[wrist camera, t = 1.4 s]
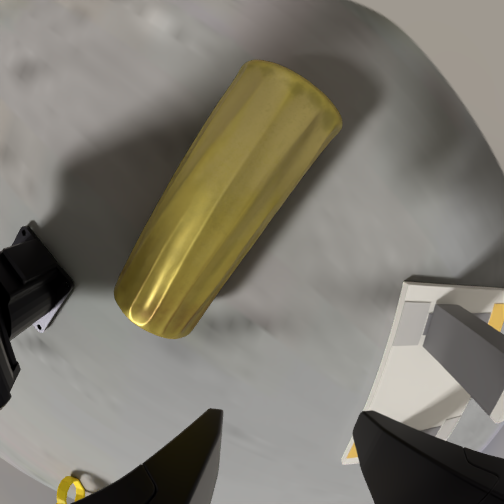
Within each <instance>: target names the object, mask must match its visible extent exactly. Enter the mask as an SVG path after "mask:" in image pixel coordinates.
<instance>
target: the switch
mask: <svg viewBox="0 0 504 504" xmlns="http://www.w3.org/2000/svg"><path fill="white" fill-rule="evenodd" d="M423 347H424V348H425V349H426V350H427V351H428V352H429V353H430V354H431V355H432V356H433V357H434V358H435V359H436V360H437V361H438V362H439V363H440V364H441V365H442V366H443V367H444V369H445V370H446V371H447V372H448V373H449V374H450V375H451V376H452V377H453V378H454V379H455V380H456V381H457V382H458V383H459V384H460V385H461V386H462V387H463V388H464V389H465V390H466V392H467V393H468V394H469V395H470V396H471V397H472V398H473V399H474V400H475V401H476V402H477V403H478V404H479V406H480V407H481V408H482V409H483V410H484V411H485V412H486V413H487V414H488V415H489V417H490V418H491V419H492V420H493V421H494V422H495V423H496V424H498V423H500V422H502V421H504V335H503V334H502V333H501V332H499V331H498V330H496V329H495V328H493V327H492V326H490V325H489V324H487V323H486V322H484V321H483V320H481V319H480V318H478V317H477V316H475V315H474V314H472V313H470V312H469V311H467V310H466V309H464V308H463V307H461V306H460V305H455V304H435V307H434V311H433V314H432V318H431V321H430V324H429V328H428V331H427V334H426V337H425V340H424V343H423Z"/></svg>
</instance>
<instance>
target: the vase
mask: <svg viewBox="0 0 504 504" xmlns="http://www.w3.org/2000/svg"><path fill="white" fill-rule="evenodd" d="M341 129H342V118H341V115H340V113H339V111H338V110H337V108H336V107H335V106H334V104H333V103H332V102H331V101H330V99H329V98H328V97H327V96H326V95H325V94H324V93H323V92H321V91H320V90H319V89H318V88H317V87H315V86H314V85H313V84H312V83H310V82H309V81H308V80H306V79H305V78H303V77H302V76H301V75H299V74H297V73H295V72H294V71H292V70H290V69H288V68H286V67H283V66H281V65H279V64H276V63H273V62H269V61H264V60H251V61H248V62H246V63H245V64H244V65H243V66H242V67H241V69H240V70H239V72H238V74H237V76H236V77H235V79H234V80H233V82H232V83H231V85H230V86H229V88H228V89H227V91H226V92H225V94H224V95H223V96H222V98H221V99H220V101H219V102H218V104H217V105H216V107H215V108H214V110H213V111H212V113H211V114H210V116H209V118H208V119H207V121H206V122H205V124H204V125H203V127H202V129H201V130H200V132H199V133H198V135H197V137H196V138H195V140H194V142H193V143H192V145H191V147H190V148H189V150H188V151H187V153H186V155H185V156H184V158H183V160H182V161H181V163H180V165H179V167H178V168H177V170H176V172H175V174H174V175H173V177H172V179H171V181H170V182H169V184H168V186H167V188H166V189H165V191H164V193H163V195H162V197H161V198H160V200H159V202H158V204H157V206H156V207H155V209H154V211H153V213H152V215H151V217H150V218H149V220H148V222H147V224H146V226H145V227H144V229H143V231H142V233H141V235H140V237H139V239H138V241H137V242H136V244H135V246H134V248H133V250H132V252H131V254H130V256H129V258H128V260H127V262H126V264H125V266H124V268H123V270H122V272H121V274H120V276H119V278H118V281H117V283H116V285H115V288H114V297H115V300H116V302H117V304H118V306H119V307H120V309H121V310H122V312H123V313H124V314H125V315H126V317H127V318H128V319H129V320H131V321H132V322H133V323H134V324H136V325H137V326H139V327H140V328H142V329H144V330H146V331H148V332H150V333H152V334H154V335H157V336H160V337H163V338H169V339H178V338H182V337H185V336H187V335H188V334H189V333H190V332H191V331H192V330H193V329H194V327H195V326H196V325H197V323H198V322H199V320H200V319H201V317H202V316H203V314H204V313H205V311H206V310H207V308H208V307H209V305H210V304H211V303H212V301H213V300H214V298H215V297H216V295H217V294H218V292H219V291H220V290H221V288H222V287H223V285H224V284H225V283H226V281H227V280H228V279H229V277H230V276H231V274H232V273H233V272H234V270H235V269H236V268H237V266H238V265H239V263H240V262H241V261H242V259H243V258H244V257H245V255H246V254H247V253H248V251H249V250H250V249H251V247H252V246H253V245H254V243H255V242H256V241H257V239H258V238H259V236H260V235H261V234H262V232H263V231H264V229H265V228H266V226H267V225H268V223H269V222H270V221H271V219H272V218H273V217H274V215H275V214H276V213H277V211H278V210H279V209H280V207H281V206H282V205H283V203H284V202H285V200H286V199H287V198H288V196H289V195H290V193H291V192H292V191H293V190H294V188H295V187H296V186H297V184H298V183H299V181H300V180H301V179H302V177H303V176H304V175H305V173H306V172H307V171H308V169H309V168H310V167H311V165H312V164H313V163H314V161H315V160H316V159H317V157H318V156H319V155H320V154H321V152H322V151H323V150H324V149H325V147H326V146H327V145H328V144H329V143H330V141H331V140H332V139H333V138H334V137H335V136H336V135H337V134H338V133H339V132H340V130H341Z"/></svg>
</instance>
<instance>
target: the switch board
mask: <svg viewBox="0 0 504 504" xmlns="http://www.w3.org/2000/svg"><path fill="white" fill-rule="evenodd" d="M435 304H455V305H460V306H461V307H463V308H464V309H466V310H467V311H469V312H470V313H472V314H474V315H475V316H477V317H478V318H480V319H481V320H483V321H484V322H486V323H487V324H489V325H490V326H492V327H493V328H495V329H496V330H498V331H499V332H500V331H501V328H502V325H503V322H504V288H494V287H478V286H463V285H448V284H434V283H420V282H406V281H403V286H402V290H401V294H400V298H399V302H398V306H397V310H396V314H395V318H394V321H393V325H392V328H391V332H390V335H389V339H388V342H387V345H386V348H385V351H384V355H383V358H382V361H381V364H380V367H379V370H378V372H377V375H376V378H375V381H374V384H373V386H372V389H371V392H370V394H369V397H368V399H367V402H366V404H365V407H364V409H363V411H370V410H373V411H376V412H378V413H380V414H383V415H385V416H387V417H389V418H392V419H394V420H396V421H398V422H401V423H403V424H405V425H408V426H410V427H412V428H415V429H417V430H420V431H422V432H425V433H427V434H430V435H432V436H435V437H437V438H440V439H442V440H445V441H446V440H447V439H448V438H449V436H450V435H451V433H452V431H453V430H454V428H455V427H456V425H457V423H458V421H459V420H460V418H461V415H462V413H463V411H464V409H465V407H466V406H467V404H468V402H469V400H470V398H471V396H470V395H469V394H468V393H467V392H466V390H465V389H464V388H463V387H462V386H461V385H460V384H459V383H458V382H457V381H456V380H455V379H454V378H453V377H452V376H451V375H450V374H449V373H448V372H447V371H446V370H445V369H444V367H443V366H442V365H441V364H440V363H439V362H438V361H437V360H436V359H435V358H434V357H433V356H432V355H431V354H430V353H429V352H428V351H427V350H426V349H425V348H424V347H423V343H424V340H425V337H426V334H427V331H428V328H429V324H430V321H431V318H432V314H433V311H434V307H435ZM341 461H342V464H343V465H347V464H355V463H359V459H358V455H357V451H356V447H355V443H354V440H353V435H352V437H351V439H350V442H349V444H348V446H347V448H346V450H345V452H344V454H343V456H342V458H341Z"/></svg>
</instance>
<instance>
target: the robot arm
mask: <svg viewBox="0 0 504 504" xmlns="http://www.w3.org/2000/svg"><path fill="white" fill-rule="evenodd" d="M25 231H26V234H25ZM66 282H67V283H68V285H69V287H68V286H67V285H66ZM73 287H74V283H73V281H72V279H71V278H70V277H69V276H68V275H67V274H66V272H65V271H64V270H63V269H62V268H61V267H60V265H59V264H58V263H57V261H56V260H55V259H54V258H53V256H52V255H51V254H50V253H49V251H48V250H47V249H46V248H45V246H44V245H43V244H42V243H41V241H40V240H39V239H38V238H37V237H36V235H35V234H34V233H33V231H32V230H31V229H30V227H29V226H23V227H21V229H20V231H19V233H18V234H17V236H16V238H15V240H14V242H13V244H12V246H10V247H7V248H4V249H3V250H2V251H0V410H1V409H2V408H3V407H4V406H5V405H6V404H7V403H8V401H9V400H10V398H11V394H10V391H11V389H12V386H13V384H14V382H15V380H16V378H17V376H18V374H19V372H20V370H21V369H20V366H19V363H18V362H17V361H16V358H15V355H14V352H13V349H12V346H11V343H10V341H11V340H12V339H13V338H15V337H16V336H17V335H19V334H20V333H21V332H23V331H24V330H25V329H27V328H28V327H29V326H31V325H33V326H34V327H35V328H36V329H37V330H38V331H39V332H40V333H42V332H44V331H45V330H46V329H47V327H48V325H49V324H50V322H51V321H52V319H53V318H54V316H55V314H56V313H57V311H58V310H59V308H60V307H61V305H62V304H63V302H64V301H65V299H66V298H67V297H68V295H69V294H70V292H71V291H72V289H73ZM222 424H223V410H221V409H212V408H210V409H208V410H207V411H206V412H205V413H203V414H202V415H201V416H200V417H199V418H198V419H197V420H195V421H194V422H193V423H192V424H191V425H190V426H188V427H187V428H186V429H185V430H184V431H182V432H181V433H180V434H179V435H178V436H176V437H175V438H174V439H173V440H171V441H170V442H169V443H168V444H167V445H165V446H164V447H163V448H162V449H160V450H159V451H158V452H157V453H155V454H154V455H153V456H151V457H150V458H149V459H148V460H146V461H145V462H144V463H143V464H140V465H139V466H138V467H136V468H135V469H134V470H132V471H131V472H129V473H128V474H126V475H125V476H123V477H122V478H120V479H119V480H117V481H116V482H114V483H112V484H110V485H108V486H107V487H105V488H103V489H101V490H99V491H97V492H95V493H93V494H91V495H89V496H86V497H84V498H82V499H80V500H78V501H76V502H73V503H71V504H210V503H211V499H212V495H213V492H214V488H215V484H216V480H217V476H218V470H219V460H220V448H221V437H222ZM353 440H354V443H355V447H356V451H357V455H358V459H359V463H360V467H361V470H362V473H363V476H364V478H365V481H366V483H367V485H368V488H369V490H370V493H371V495H372V498H373V500H374V503H375V504H504V459H503V458H499V457H495V456H491V455H487V454H483V453H480V452H477V451H474V450H471V449H468V448H465V447H464V448H463V447H461V446H459V445H456V444H453V443H450V442H448V441H445V440H442V439H440V438H437V437H435V436H432V435H430V434H427V433H425V432H422V431H420V430H417V429H415V428H412V427H410V426H408V425H405V424H403V423H401V422H398V421H396V420H394V419H392V418H389V417H387V416H385V415H383V414H380V413H378V412H376V411H373V410H370V411H362V412H361V413H360V415H359V417H358V419H357V422H356V424H355V427H354V429H353Z"/></svg>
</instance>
